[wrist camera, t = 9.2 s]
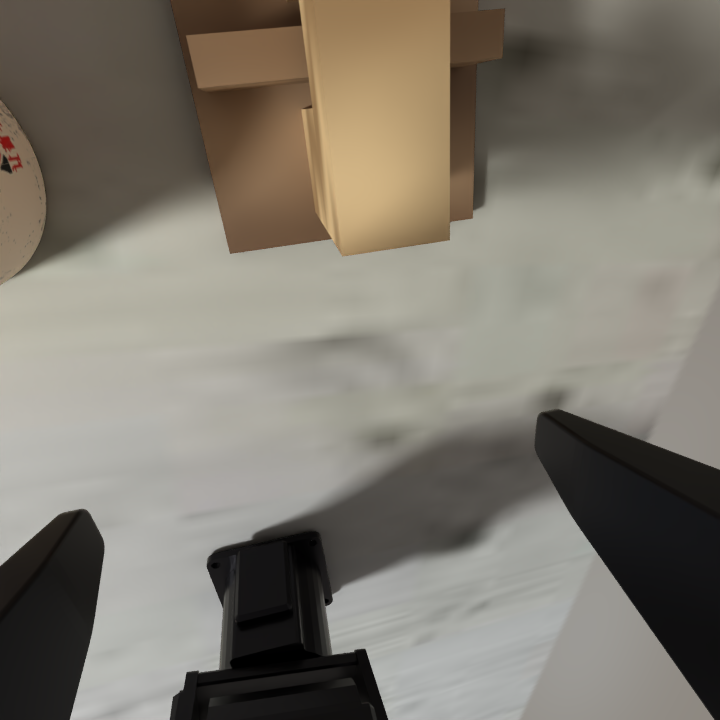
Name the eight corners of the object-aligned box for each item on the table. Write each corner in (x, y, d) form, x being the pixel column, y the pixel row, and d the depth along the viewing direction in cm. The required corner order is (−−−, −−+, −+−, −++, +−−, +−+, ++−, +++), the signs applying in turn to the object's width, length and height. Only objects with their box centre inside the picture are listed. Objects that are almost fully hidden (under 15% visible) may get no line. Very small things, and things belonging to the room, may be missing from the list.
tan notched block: (390, 201, 18) (449, 240, 13) (315, 212, 18) (342, 256, 12) (369, -157, 13) (450, -351, 8) (265, -154, 13) (273, -356, 7)
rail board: (464, 214, 20) (506, 234, 17) (231, 248, 19) (226, 277, 15) (472, -189, 14) (539, -282, 11) (130, -180, 13) (87, -283, 9)
